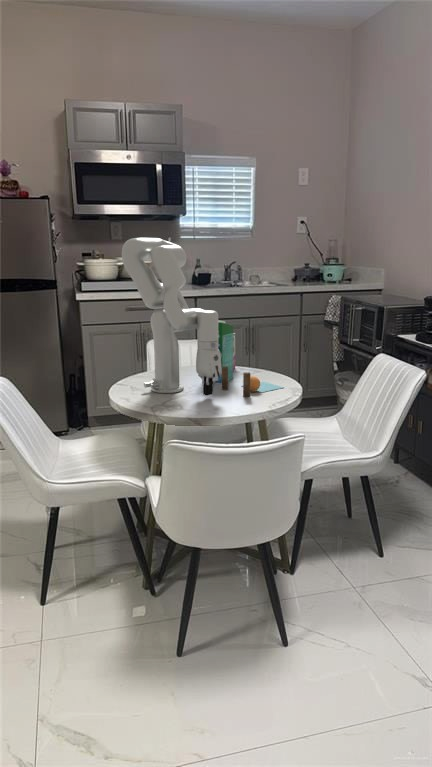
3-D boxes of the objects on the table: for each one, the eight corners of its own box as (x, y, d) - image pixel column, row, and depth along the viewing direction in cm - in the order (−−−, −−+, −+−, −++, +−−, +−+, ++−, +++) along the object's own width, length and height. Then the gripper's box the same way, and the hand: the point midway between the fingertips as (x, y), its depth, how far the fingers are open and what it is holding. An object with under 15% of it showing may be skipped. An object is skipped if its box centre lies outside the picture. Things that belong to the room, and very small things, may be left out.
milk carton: (233, 378, 224) (233, 319, 218) (221, 383, 216) (222, 322, 210) (215, 376, 228) (215, 318, 222) (203, 380, 221) (203, 320, 215)
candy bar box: (224, 367, 245) (225, 332, 241) (235, 368, 244) (235, 332, 240) (220, 373, 234) (220, 336, 230) (231, 373, 233) (231, 336, 229)
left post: (224, 390, 205) (224, 367, 202) (220, 389, 207) (220, 366, 204) (229, 389, 206) (229, 367, 204) (225, 388, 208) (225, 365, 206)
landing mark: (261, 392, 201) (261, 392, 201) (241, 386, 211) (241, 386, 211) (284, 387, 209) (284, 387, 208) (263, 382, 218) (263, 381, 218)
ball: (248, 387, 198) (259, 375, 199) (239, 382, 202) (249, 371, 204) (255, 396, 202) (265, 385, 203) (246, 391, 206) (255, 380, 207)
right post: (246, 397, 195) (246, 374, 192) (241, 396, 197) (241, 372, 194) (251, 396, 196) (251, 373, 194) (247, 395, 198) (247, 371, 196)
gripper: (229, 347, 185) (228, 397, 190) (204, 341, 197) (204, 388, 201) (212, 349, 181) (212, 400, 185) (187, 343, 192) (188, 392, 197)
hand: (208, 394), depth 193 cm, fingers closed
